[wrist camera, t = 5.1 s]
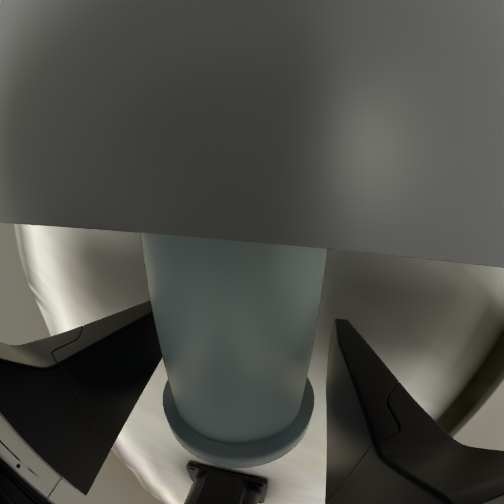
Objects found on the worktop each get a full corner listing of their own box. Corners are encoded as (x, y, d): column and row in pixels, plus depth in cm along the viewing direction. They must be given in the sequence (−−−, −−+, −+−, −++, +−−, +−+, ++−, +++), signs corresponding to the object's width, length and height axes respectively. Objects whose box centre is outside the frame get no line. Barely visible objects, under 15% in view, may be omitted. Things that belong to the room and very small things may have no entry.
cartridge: (314, 369, 10) (301, 479, 6) (197, 350, 11) (144, 441, 7) (342, 19, 6) (357, -85, 1) (184, 27, 7) (82, -31, 2)
